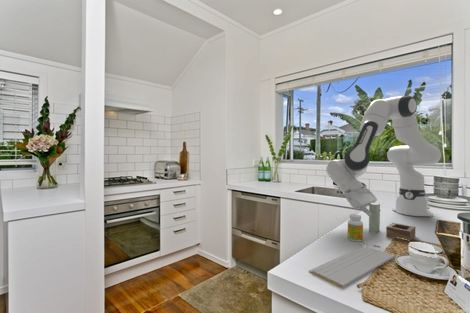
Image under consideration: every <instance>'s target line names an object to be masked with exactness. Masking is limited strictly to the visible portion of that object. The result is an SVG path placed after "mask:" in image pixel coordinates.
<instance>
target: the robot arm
mask: <svg viewBox="0 0 470 313" xmlns="http://www.w3.org/2000/svg"><path fill="white" fill-rule="evenodd" d="M417 107H418V103H417V100H416V99H415V98H414V97H413V96H412V95H402V96H393V97H389V98H385V99H375V100H373V101H372V102H371V103H370V105H368V108H367V109H366V110H365V113H364V115H363V117H362V120H361V122H360V128H359V131H360V133H359V134H358V137H357V139H356V140H355V144H353V146H352V147H351V148H349V149H348V150H347V152H346V153H345V154H344V158H343V159H333V160H331V161H330V162H329V164H328V165H327V166H326V174H327V176H328V177H329V178H330V179H331V181H332V182H333V183H334V184H335V185H337V187H338V188H339V189H340V191H341V192H342V194H343V195H345V199H346V201H347V202H348V203H349V205H350V206H351V207H352V208H353V210H356V211H357V210H360V211H362V212H363V213H365V214H366V215H367V217H369V216H371V215H373V213H372V212H371V211H369V208H367V207H369V204H370V203H377V201H378V198H377V197H376V195H374V193H373V192H372V191H371V190H370V189H369V188H368V187H367V186H368V185H367V184H366V183H364V182H361V181H360V180H359V179H357V178H358V177H361V176H362V175H364V174H365V173H366V172H367V169H368V165H369V163H370V159H371V157H370V156H371V155H370V148H371V146H372V143H373V141H374V139H375V137H379V136H381V134H382V133H383V131H384V130H385V128H386V127H387V124H388V122H389V120H392V126H393V129H394V134H395V139H396V140H398V141H399V142H400V143H403V144H405V145H397V146H392V147H390V148H389V149H388V151H387V153H386V157H387V160H388V161H389V162H390V163H391V164H392V165H394V166H395V168H396V170H397V172H398V173H399V187H398V189H399V190H398V194H399V195H398V196H396V198H395V207H394V208H392V211H393V212H396V213H398V214H402V215H406V216H412V217H413V216H414V217H431V218H432V217H433V211H432V210H431V209H430V207H429V206H428V204H429V201H428V200H427V198H426V190H425V176H424V175H423V174H422V173H421V172H419V170H416V169H415V168H414V165H415V166H417V165H418V166H429V165H430V166H431V165H435V164H436V165H437V164H438V163H439V161H440V160H441V159H442V152H441V149H439V148H438V147H437V146H436V145H434V144H431V143H430V142H429V141H427V140H426V138H424V137H423V135H422V132H421V130H420V126H419V123H418V119H417V115H416V111H417V109H418V108H417ZM380 212H381V209H380Z"/></svg>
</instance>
